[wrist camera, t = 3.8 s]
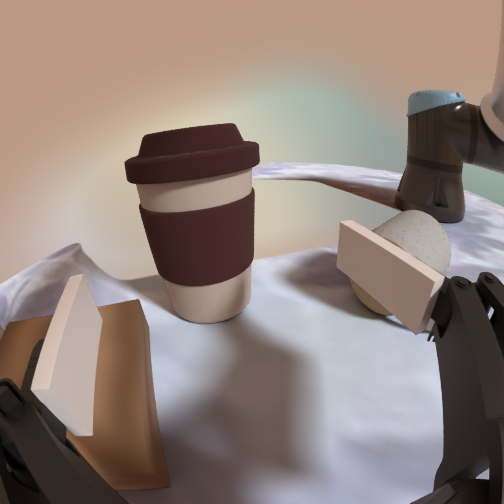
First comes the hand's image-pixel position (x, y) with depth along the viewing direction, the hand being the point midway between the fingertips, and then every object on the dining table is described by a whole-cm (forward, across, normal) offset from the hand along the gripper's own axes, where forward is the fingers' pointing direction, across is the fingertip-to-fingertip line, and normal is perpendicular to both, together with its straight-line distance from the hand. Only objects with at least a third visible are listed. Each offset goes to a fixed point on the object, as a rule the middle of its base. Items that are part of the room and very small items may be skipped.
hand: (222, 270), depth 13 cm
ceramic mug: (+1, +16, -9) cm, 19 cm away
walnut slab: (0, -13, -8) cm, 15 cm away
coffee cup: (+9, 0, -9) cm, 13 cm away
